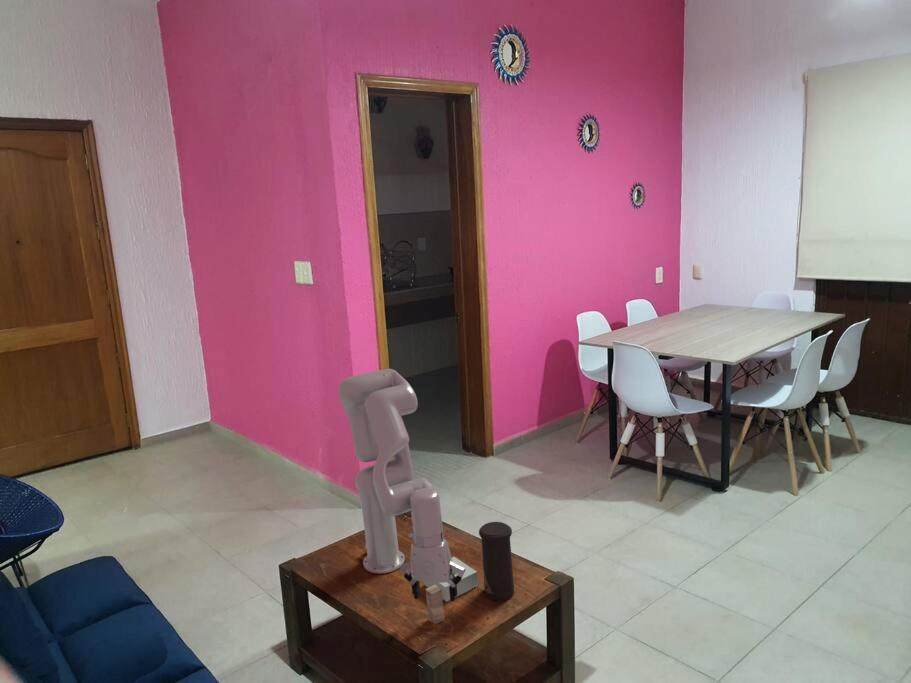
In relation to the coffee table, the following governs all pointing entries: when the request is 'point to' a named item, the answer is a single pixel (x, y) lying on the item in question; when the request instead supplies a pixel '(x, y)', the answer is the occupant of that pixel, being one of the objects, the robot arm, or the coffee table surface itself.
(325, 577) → the coffee table surface
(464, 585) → the grey square socket block
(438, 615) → the birch stick
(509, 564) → the container
